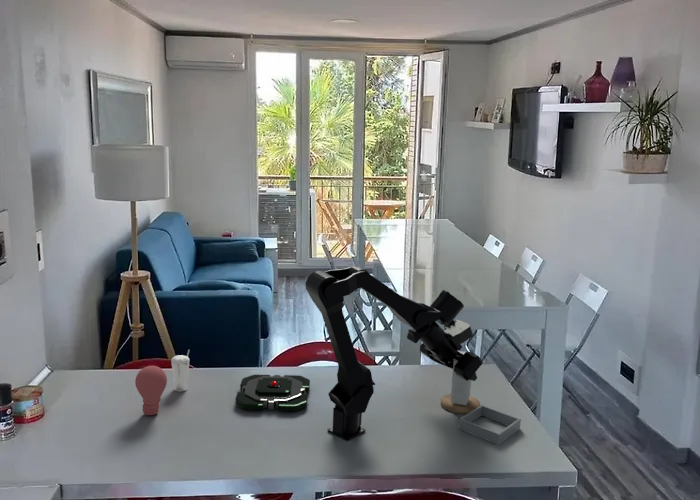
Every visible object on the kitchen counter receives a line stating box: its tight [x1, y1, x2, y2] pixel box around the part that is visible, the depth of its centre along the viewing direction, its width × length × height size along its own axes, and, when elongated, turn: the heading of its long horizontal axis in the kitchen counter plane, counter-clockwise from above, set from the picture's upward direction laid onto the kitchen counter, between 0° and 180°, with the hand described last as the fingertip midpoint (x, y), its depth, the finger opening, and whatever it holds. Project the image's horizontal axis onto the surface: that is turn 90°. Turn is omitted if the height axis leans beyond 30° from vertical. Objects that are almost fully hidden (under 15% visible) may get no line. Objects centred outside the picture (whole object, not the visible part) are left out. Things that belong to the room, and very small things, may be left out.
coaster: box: [440, 393, 481, 415], centre depth 161 cm, size 10×10×1 cm
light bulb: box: [134, 365, 168, 416], centre depth 149 cm, size 7×7×12 cm
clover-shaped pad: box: [234, 374, 311, 412], centre depth 162 cm, size 18×18×5 cm
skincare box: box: [450, 350, 472, 405], centre depth 160 cm, size 6×4×12 cm
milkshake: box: [170, 349, 191, 393], centre depth 163 cm, size 4×5×10 cm
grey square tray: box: [457, 404, 522, 446], centre depth 149 cm, size 10×10×2 cm
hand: (466, 373), depth 160 cm, fingers closed on skincare box, 7 cm apart
